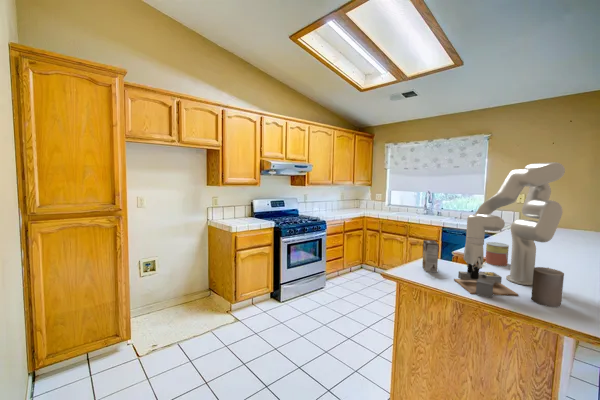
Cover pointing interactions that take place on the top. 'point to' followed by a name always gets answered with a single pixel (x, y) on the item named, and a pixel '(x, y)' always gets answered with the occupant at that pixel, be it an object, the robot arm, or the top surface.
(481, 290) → the block
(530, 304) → the top surface
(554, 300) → the pillar candle
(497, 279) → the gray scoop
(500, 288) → the board
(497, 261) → the canned food
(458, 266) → the top surface
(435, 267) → the coffee box
